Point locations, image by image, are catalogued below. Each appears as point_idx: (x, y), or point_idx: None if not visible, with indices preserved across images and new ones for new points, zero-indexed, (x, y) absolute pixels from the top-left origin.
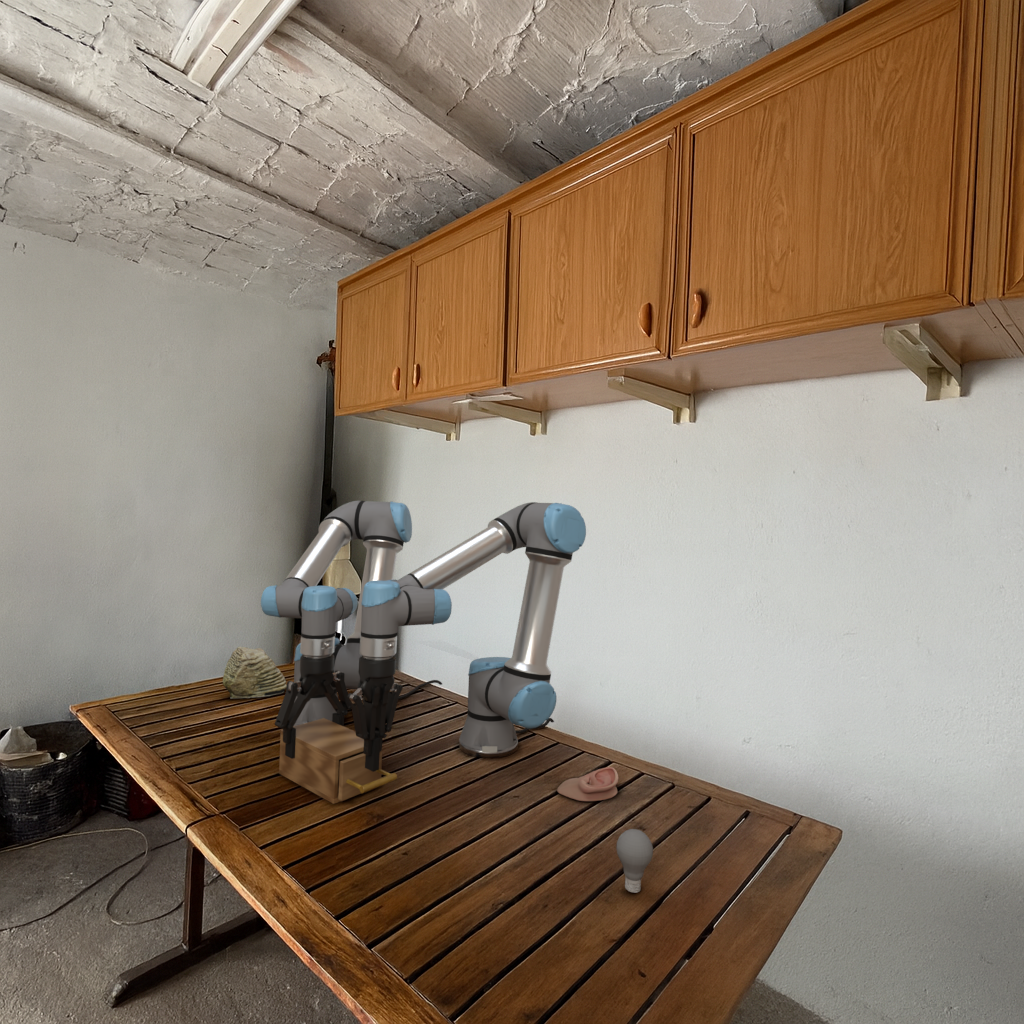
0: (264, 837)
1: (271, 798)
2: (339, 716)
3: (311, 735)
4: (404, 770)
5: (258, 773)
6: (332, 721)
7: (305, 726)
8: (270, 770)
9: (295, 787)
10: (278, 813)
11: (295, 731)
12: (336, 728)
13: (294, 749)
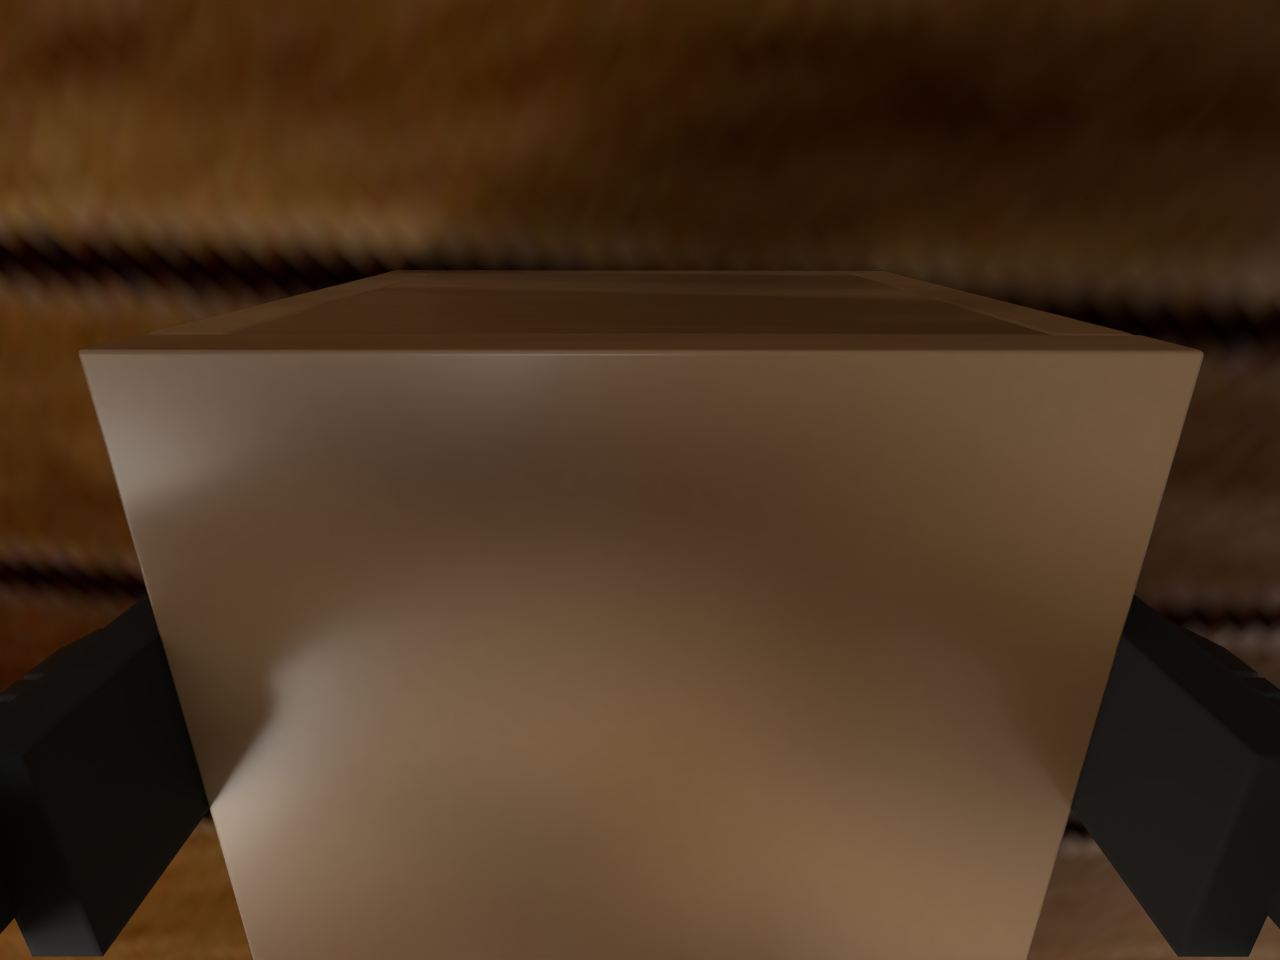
0: (9, 932)
1: None
2: (1174, 951)
3: (449, 887)
4: (1102, 860)
5: (237, 107)
6: (1125, 642)
7: (593, 520)
8: (363, 131)
9: None
10: None
11: (131, 903)
12: (908, 898)
13: None
